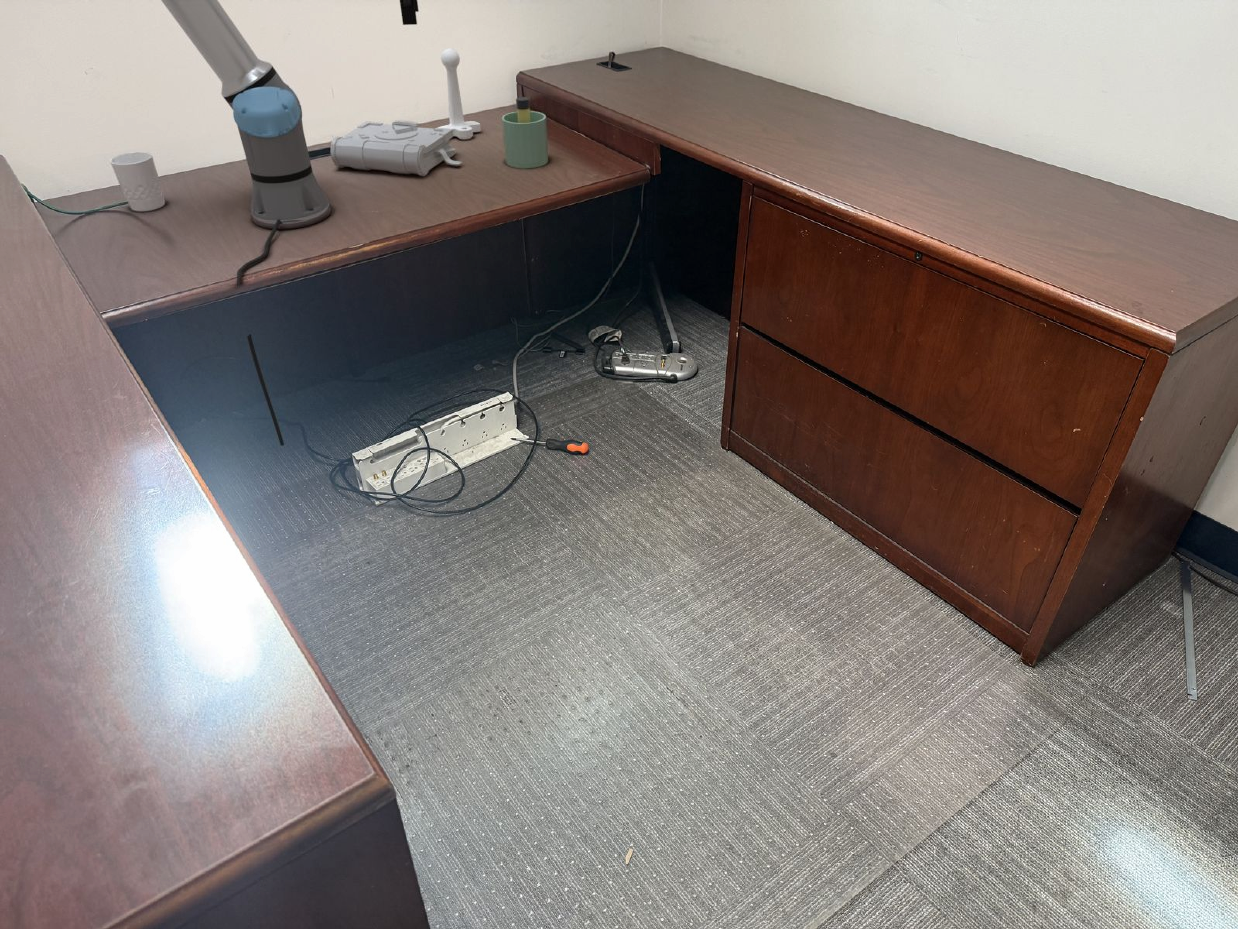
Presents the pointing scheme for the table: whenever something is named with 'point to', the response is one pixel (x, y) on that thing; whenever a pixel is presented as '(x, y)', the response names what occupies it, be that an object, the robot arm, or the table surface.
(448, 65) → the joystick
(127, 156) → the white cup
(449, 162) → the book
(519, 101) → the marker
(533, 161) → the pen cup
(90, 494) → the table surface
